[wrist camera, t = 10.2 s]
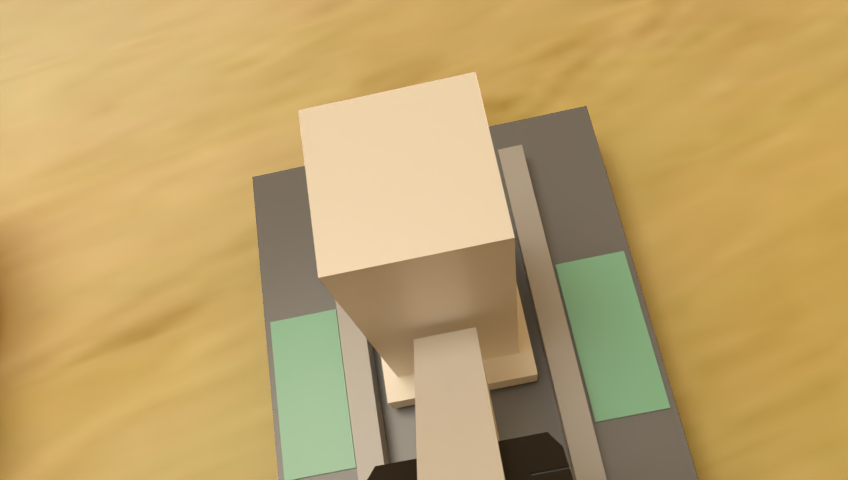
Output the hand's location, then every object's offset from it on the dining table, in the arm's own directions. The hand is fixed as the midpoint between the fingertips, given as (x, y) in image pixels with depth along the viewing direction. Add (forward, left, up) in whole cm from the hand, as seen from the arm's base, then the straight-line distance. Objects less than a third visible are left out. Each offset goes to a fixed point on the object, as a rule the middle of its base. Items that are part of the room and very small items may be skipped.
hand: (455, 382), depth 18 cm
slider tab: (0, +3, -5) cm, 6 cm away
